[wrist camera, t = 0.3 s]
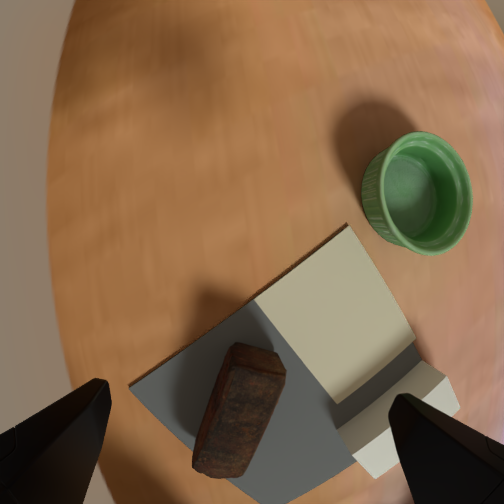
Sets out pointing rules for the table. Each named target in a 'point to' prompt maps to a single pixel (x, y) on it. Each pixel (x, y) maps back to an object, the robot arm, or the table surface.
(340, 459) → the grey mat
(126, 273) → the table surface
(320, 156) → the table surface
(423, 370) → the block
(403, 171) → the ramekin
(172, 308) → the table surface
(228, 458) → the brick
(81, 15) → the table surface
